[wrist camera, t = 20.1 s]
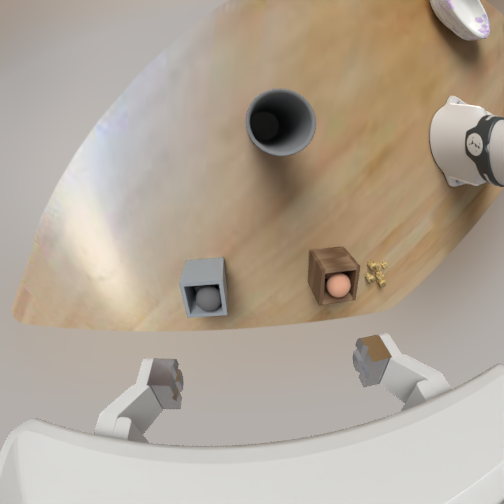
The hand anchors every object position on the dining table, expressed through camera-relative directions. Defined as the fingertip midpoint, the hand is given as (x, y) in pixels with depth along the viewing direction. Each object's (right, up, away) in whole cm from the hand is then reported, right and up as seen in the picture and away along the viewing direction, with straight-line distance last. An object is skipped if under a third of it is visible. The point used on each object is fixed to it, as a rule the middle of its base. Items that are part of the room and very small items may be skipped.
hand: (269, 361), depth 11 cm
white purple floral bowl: (+40, +55, +14) cm, 69 cm away
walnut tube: (+12, +3, +36) cm, 39 cm away
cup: (+1, +23, +26) cm, 35 cm away
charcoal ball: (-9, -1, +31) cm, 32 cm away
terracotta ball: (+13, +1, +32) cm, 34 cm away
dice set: (+23, +1, +38) cm, 45 cm away
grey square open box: (-9, +1, +36) cm, 37 cm away
